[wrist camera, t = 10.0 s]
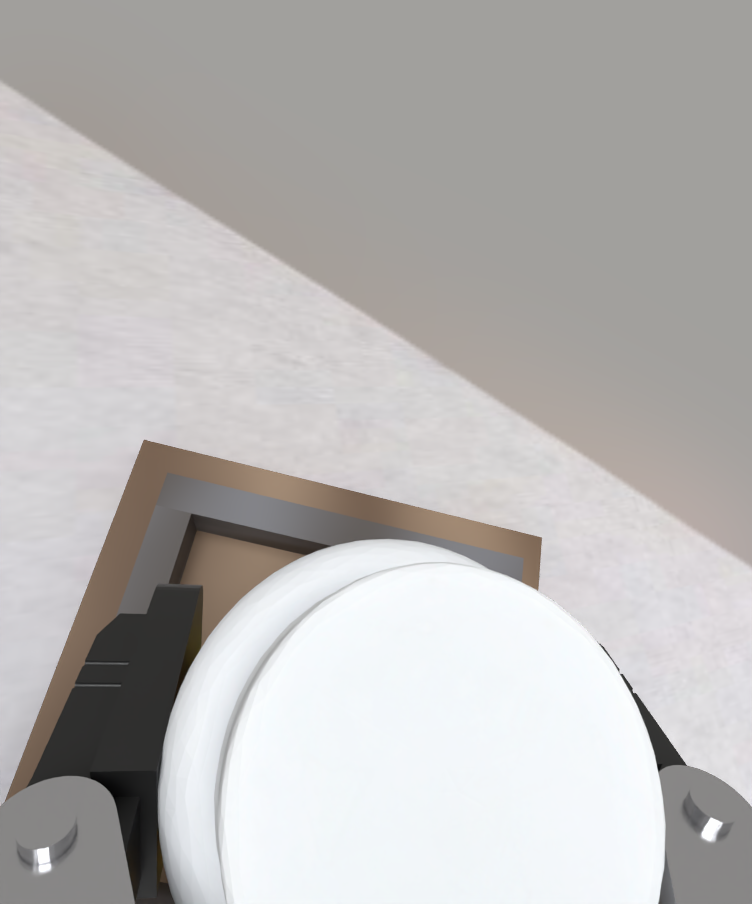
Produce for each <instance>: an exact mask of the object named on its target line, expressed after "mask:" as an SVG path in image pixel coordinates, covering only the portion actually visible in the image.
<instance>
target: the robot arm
mask: <svg viewBox="0 0 752 904" xmlns="http://www.w3.org/2000/svg"><path fill="white" fill-rule="evenodd" d="M553 601H554V600H553ZM202 615H203V585H187V584H160V583H159V584H157V586H156V588H155V591H154V594H153V596H152V599H151V602H150V605H149V608H148V610H147V613H146V614H127V613H120V614H119V615H118V616H117V617H116V618H114V619H113V620H112V621H111V622H110V623H109V624H108V625H107V626H106V627H105V628H103V629H102V630H101V631H100V632H99V633H98V634H97V635H96V637H95V640H94V642H93V644H92V646H91V648H90V651H89V653H88V655H87V657H86V659H85V664H84V666H82V668H81V670H80V673H79V675H78V677H77V679H76V681H75V686H74V688H72V690H71V692H70V695H69V697H68V699H67V701H66V703H65V706H64V708H63V710H62V712H61V714H60V717H59V719H58V721H57V723H56V725H55V728H54V730H53V732H52V734H51V736H50V739H49V741H48V743H47V745H46V747H45V750H44V752H43V754H42V756H41V758H40V761H39V763H38V765H37V767H36V769H35V772H34V774H33V776H32V778H31V780H30V781H29V783H28V785H27V787H26V788H25V789H23V790H21V791H20V792H18V793H17V794H15V795H14V796H12V797H11V798H9V799H8V800H7V801H6V802H4V803H3V804H2V805H1V806H0V904H135V902H136V899H141V898H157V894H158V889H159V884H160V879H161V874H162V868H163V859H162V853H161V847H160V840H159V828H158V783H159V774H160V766H161V758H162V750H163V744H164V739H165V734H166V730H167V726H168V722H169V718H170V714H171V711H172V709H173V706H174V703H175V700H176V698H177V695H178V692H179V690H180V687H181V685H182V683H183V681H184V679H185V677H186V674H187V672H188V670H189V668H190V666H191V665H192V663H193V661H194V659H195V658H196V656H197V654H198V653H199V651H200V649H201V643H202ZM598 644H599V643H598ZM599 645H600V646H601V647H602V648H603V650H604V651H605V652H606V654H607V655H608V656H609V657H610V655H609V654H608V653H607V651H606V650H605V648H604V647H603V646H602V645H601V644H599ZM610 659H611V660H612V658H611V657H610ZM612 661H613V660H612ZM613 663H614V661H613ZM614 664H615V663H614ZM615 666H616V668H617V670H618V671H619V668H618V667H617V665H616V664H615ZM620 675H621V677H622V679H623V680H624V682H625V684H626V686H627V687H628V689H629V691H630V693H631V695H632V697H633V699H634V701H635V703H636V705H637V707H638V709H639V711H640V714H641V716H642V719H643V721H644V724H645V726H646V729H647V732H648V735H649V738H650V741H651V744H652V747H653V750H654V754H655V759H656V764H657V769H658V773H659V778H660V784H661V790H662V796H663V805H664V814H665V824H666V825H665V863H664V872H663V878H662V883H661V890H660V897H659V902H658V904H752V807H751V806H750V804H749V803H748V802H747V801H746V800H745V799H744V798H743V797H742V796H741V795H740V794H739V793H738V792H736V791H735V790H734V789H733V788H732V787H730V786H729V785H728V784H726V783H725V782H723V781H722V780H720V779H719V778H717V777H715V776H713V775H711V774H709V773H707V772H705V771H703V770H700V769H697V768H694V767H690V766H687V765H686V764H685V762H684V761H683V759H682V758H681V756H680V755H679V754H678V752H677V751H676V749H675V748H674V747H673V745H672V744H671V742H670V741H669V739H668V738H667V737H666V735H665V734H664V732H663V731H662V729H661V728H660V727H659V725H658V724H657V722H656V721H655V719H654V718H653V717H652V715H651V714H650V712H649V711H648V709H647V708H646V707H645V705H644V704H643V702H642V701H641V700H640V698H639V697H638V695H637V694H636V693H633V691H632V689H633V688H632V687H631V685H630V684H629V682H628V681H627V680H626V678H625V677H624V675H623V674H620Z"/></svg>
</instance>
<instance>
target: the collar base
mask: <svg viewBox="0 0 752 904" xmlns="http://www.w3.org/2000/svg"><path fill="white" fill-rule="evenodd" d="M373 539H396V540H408V541H417V542H422V543H426V544H430V545H434V546H438V547H441V548H444V549H447V550H450V551H453V552H455V553H458V554H460V555H463V556H465V557H467V558H469V559H471V560H473V561H475V562H477V563H479V564H481V565H483V566H484V567H486V568H488V569H489V570H492V571H495V572H498V573H501V574H504V575H507V576H509V577H511V578H514V579H516V580H518V581H520V582H522V583H524V584H526V585H528V586H530V587H532V588H534V589H536V590H537V591H538V586H539V571H540V557H541V542H542V538H541V537H537V536H533V535H529V534H525V533H521V532H517V531H513V530H509V529H505V528H500V527H496V526H492V525H488V524H484V523H480V522H476V521H472V520H468V519H464V518H460V517H456V516H452V515H448V514H444V513H439V512H435V511H431V510H427V509H423V508H419V507H415V506H411V505H407V504H403V503H399V502H395V501H391V500H387V499H383V498H379V497H374V496H370V495H366V494H362V493H358V492H354V491H350V490H346V489H342V488H338V487H334V486H330V485H326V484H322V483H318V482H313V481H309V480H305V479H301V478H297V477H293V476H289V475H285V474H281V473H277V472H273V471H269V470H265V469H261V468H257V467H252V466H248V465H244V464H240V463H236V462H232V461H228V460H224V459H220V458H216V457H212V456H208V455H204V454H200V453H196V452H192V451H187V450H183V449H179V448H175V447H171V446H167V445H163V444H159V443H155V442H151V441H147V440H144V441H143V443H142V446H141V449H140V451H139V454H138V456H137V459H136V462H135V464H134V467H133V469H132V472H131V475H130V477H129V480H128V482H127V485H126V488H125V490H124V493H123V495H122V498H121V501H120V503H119V506H118V508H117V511H116V514H115V516H114V519H113V521H112V524H111V527H110V529H109V532H108V534H107V537H106V540H105V542H104V545H103V548H102V550H101V553H100V555H99V558H98V561H97V563H96V566H95V568H94V571H93V574H92V576H91V579H90V581H89V584H88V587H87V589H86V592H85V594H84V597H83V600H82V602H81V605H80V607H79V610H78V613H77V615H76V618H75V620H74V623H73V626H72V628H71V631H70V633H69V636H68V639H67V641H66V644H65V646H64V649H63V652H62V654H61V657H60V659H59V662H58V665H57V667H56V670H55V672H54V675H53V678H52V680H51V683H50V685H49V688H48V691H47V693H46V696H45V698H44V701H43V704H42V706H41V709H40V711H39V714H38V717H37V719H36V722H35V724H34V727H33V730H32V732H31V735H30V737H29V740H28V743H27V745H26V748H25V750H24V753H23V756H22V758H21V761H20V763H19V766H18V769H17V771H16V774H15V776H14V779H13V782H12V784H11V787H10V790H9V792H8V795H7V797H6V800H5V802H6V801H7V800H8V799H9V798H11V797H12V796H14V795H15V794H17V793H18V792H20V791H21V790H23V789H25V788H26V787H27V785H28V783H29V781H30V780H31V778H32V776H33V774H34V772H35V769H36V767H37V765H38V763H39V761H40V758H41V756H42V754H43V752H44V750H45V747H46V745H47V743H48V741H49V739H50V736H51V734H52V732H53V730H54V728H55V725H56V723H57V721H58V719H59V717H60V714H61V712H62V710H63V708H64V706H65V703H66V701H67V699H68V697H69V695H70V692H71V690H72V688H74V686H75V681H76V679H77V677H78V675H79V673H80V670H81V668H82V666H84V664H85V659H86V657H87V655H88V653H89V651H90V648H91V646H92V644H93V642H94V640H95V637H96V635H97V634H98V633H99V632H100V631H101V630H102V629H103V628H105V627H106V626H107V625H108V624H109V623H110V622H111V621H112V620H113V619H114V618H116V617H117V616H118V615H119V614H120V613H127V614H146V613H147V610H148V608H149V605H150V602H151V599H152V596H153V594H154V591H155V588H156V586H157V584H159V583H160V584H187V585H203V615H202V643H201V648H202V646H203V645H204V643H205V641H206V640H207V638H208V636H209V635H210V634H211V633H212V631H213V630H214V629H215V627H216V626H217V625H218V624H219V622H220V621H221V620H222V619H223V618H224V616H225V615H226V614H227V613H228V612H229V611H230V610H231V609H232V608H233V607H234V606H235V605H236V603H237V602H238V601H239V600H240V599H241V598H242V597H244V596H245V595H246V594H247V593H248V592H249V591H251V590H252V589H253V588H254V587H255V586H257V585H258V584H259V583H261V582H262V581H263V580H265V579H266V578H267V577H269V576H270V575H271V574H273V573H274V572H276V571H278V570H279V569H281V568H283V567H284V566H286V565H288V564H290V563H291V562H293V561H295V560H297V559H299V558H301V557H304V556H306V555H309V554H311V553H313V552H316V551H318V550H321V549H325V548H328V547H331V546H335V545H338V544H344V543H350V542H354V541H361V540H373ZM135 904H175V902H174V900H173V897H172V894H171V892H170V888H169V884H168V880H167V876H166V872H165V869H164V865H163V868H162V874H161V879H160V884H159V889H158V894H157V898H141V899H136V902H135Z"/></svg>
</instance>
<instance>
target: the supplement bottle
mask: <svg viewBox="0 0 752 904" xmlns="http://www.w3.org/2000/svg"><path fill="white" fill-rule="evenodd" d="M665 825H666V824H665V814H664V805H663V796H662V790H661V784H660V778H659V773H658V769H657V764H656V759H655V754H654V750H653V747H652V744H651V741H650V738H649V735H648V732H647V729H646V726H645V724H644V721H643V719H642V716H641V714H640V711H639V709H638V707H637V705H636V703H635V701H634V699H633V697H632V695H631V693H630V691H629V689H628V687H627V686H626V684H625V682H624V680H623V679H622V677H621V675H620V673H619V671H618V670H617V668H616V666H615V664H614V663H613V661H612V660H611V659H610V657H609V656H608V655H607V654H606V652H605V651H604V650H603V648H602V647H601V646H600V645H599V644H598V642H597V641H596V640H595V639H594V638H593V636H592V635H591V634H590V633H589V632H588V631H587V630H586V629H585V628H584V627H583V626H582V625H581V624H580V623H579V622H578V621H577V620H576V619H575V618H574V617H573V616H571V615H570V614H569V613H568V612H567V611H565V610H564V609H563V608H562V607H561V606H559V605H558V604H557V603H556V602H555V601H553V600H552V599H550V598H549V597H547V596H545V595H544V594H542V593H541V592H539V591H537V590H536V589H534V588H532V587H530V586H528V585H526V584H524V583H522V582H520V581H518V580H516V579H514V578H511V577H509V576H507V575H504V574H501V573H498V572H495V571H492V570H489V569H488V568H486V567H484V566H483V565H481V564H479V563H477V562H475V561H473V560H471V559H469V558H467V557H465V556H463V555H460V554H458V553H455V552H453V551H450V550H447V549H444V548H441V547H438V546H434V545H430V544H426V543H422V542H417V541H408V540H396V539H373V540H361V541H354V542H350V543H344V544H338V545H335V546H331V547H328V548H325V549H321V550H318V551H316V552H313V553H311V554H309V555H306V556H304V557H301V558H299V559H297V560H295V561H293V562H291V563H290V564H288V565H286V566H284V567H283V568H281V569H279V570H278V571H276V572H274V573H273V574H271V575H270V576H269V577H267V578H266V579H265V580H263V581H262V582H261V583H259V584H258V585H257V586H255V587H254V588H253V589H252V590H251V591H249V592H248V593H247V594H246V595H245V596H244V597H242V598H241V599H240V600H239V601H238V602H237V603H236V605H235V606H234V607H233V608H232V609H231V610H230V611H229V612H228V613H227V614H226V615H225V616H224V618H223V619H222V620H221V621H220V622H219V624H218V625H217V626H216V627H215V629H214V630H213V631H212V633H211V634H210V635H209V636H208V638H207V640H206V641H205V643H204V645H203V646H202V648H201V649H200V651H199V653H198V654H197V656H196V658H195V659H194V661H193V663H192V665H191V666H190V668H189V670H188V672H187V674H186V677H185V679H184V681H183V683H182V685H181V687H180V690H179V692H178V695H177V698H176V700H175V703H174V706H173V709H172V711H171V714H170V718H169V722H168V726H167V730H166V734H165V739H164V744H163V750H162V758H161V766H160V774H159V783H158V828H159V840H160V847H161V853H162V859H163V865H164V869H165V872H166V876H167V880H168V884H169V888H170V892H171V894H172V897H173V900H174V902H175V904H658V902H659V897H660V890H661V883H662V878H663V872H664V863H665Z"/></svg>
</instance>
